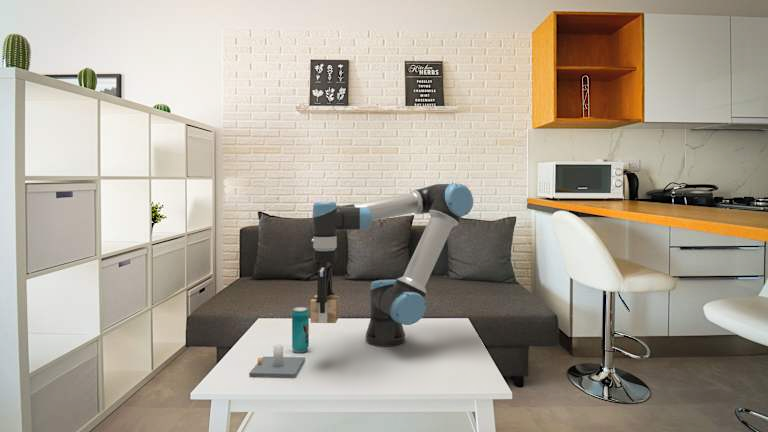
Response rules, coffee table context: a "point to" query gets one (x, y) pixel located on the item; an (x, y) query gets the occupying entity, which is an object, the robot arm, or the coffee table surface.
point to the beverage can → (300, 329)
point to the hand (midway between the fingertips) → (325, 318)
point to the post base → (278, 371)
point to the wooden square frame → (331, 309)
